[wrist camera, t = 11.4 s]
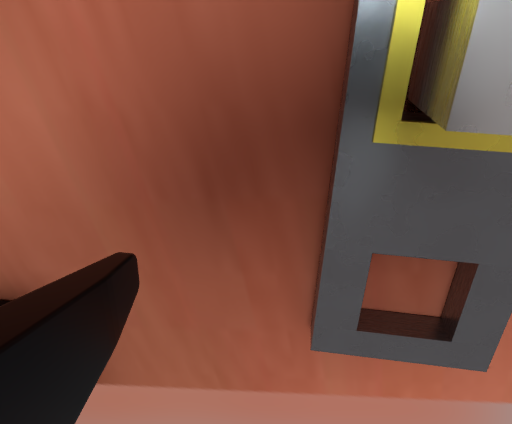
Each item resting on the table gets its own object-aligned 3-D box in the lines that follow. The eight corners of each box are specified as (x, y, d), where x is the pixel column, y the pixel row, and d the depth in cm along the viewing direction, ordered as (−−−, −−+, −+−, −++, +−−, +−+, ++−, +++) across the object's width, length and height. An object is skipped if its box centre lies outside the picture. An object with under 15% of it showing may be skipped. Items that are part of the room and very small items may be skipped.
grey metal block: (406, 98, 18) (445, 130, 13) (426, 2, 17) (481, -6, 11) (496, 104, 18) (573, 139, 13) (526, 6, 16) (630, -1, 11)
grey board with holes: (310, 326, 25) (310, 354, 23) (364, -73, 16) (371, -86, 14) (473, 345, 24) (488, 376, 22) (632, -66, 15) (684, -80, 13)
